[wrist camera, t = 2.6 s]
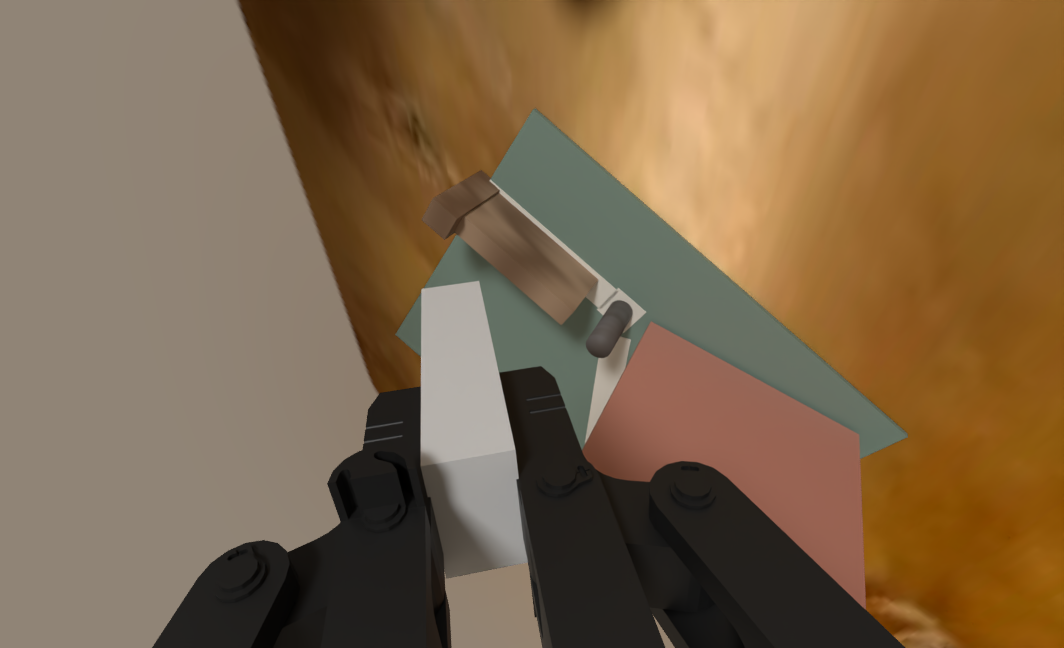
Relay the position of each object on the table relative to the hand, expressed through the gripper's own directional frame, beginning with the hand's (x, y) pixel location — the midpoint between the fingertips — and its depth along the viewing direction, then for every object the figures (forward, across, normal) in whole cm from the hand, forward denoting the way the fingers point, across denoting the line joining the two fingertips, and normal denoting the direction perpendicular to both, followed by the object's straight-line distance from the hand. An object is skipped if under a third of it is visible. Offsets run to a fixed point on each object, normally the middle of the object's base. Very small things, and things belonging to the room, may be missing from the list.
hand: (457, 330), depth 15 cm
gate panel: (+13, +17, -14) cm, 25 cm away
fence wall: (+21, +7, -6) cm, 22 cm away
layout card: (+19, +10, -16) cm, 26 cm away
